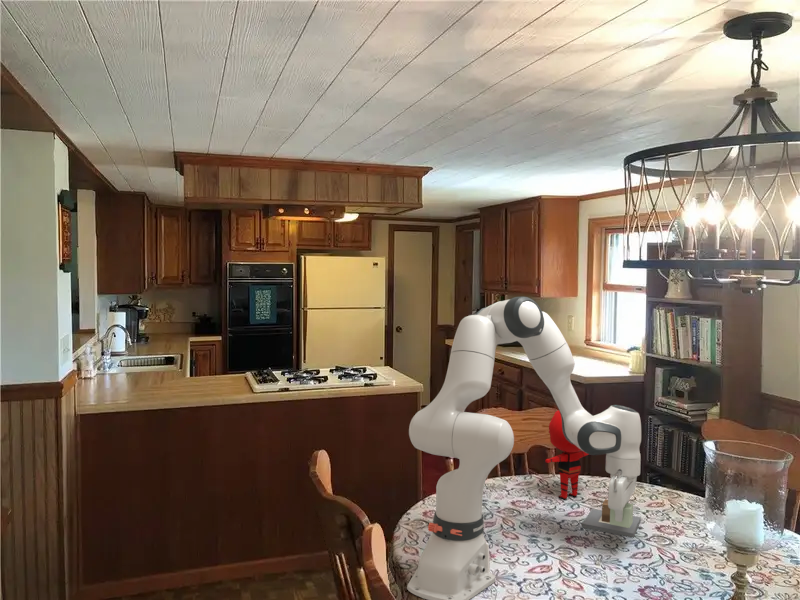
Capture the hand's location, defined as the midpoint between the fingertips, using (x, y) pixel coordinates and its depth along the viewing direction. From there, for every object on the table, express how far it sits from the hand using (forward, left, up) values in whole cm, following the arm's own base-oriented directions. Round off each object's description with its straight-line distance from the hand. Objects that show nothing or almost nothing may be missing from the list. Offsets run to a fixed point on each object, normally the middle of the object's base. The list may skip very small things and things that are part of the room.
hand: (621, 517), depth 169 cm
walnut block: (+13, +4, -6) cm, 15 cm away
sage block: (0, 0, -2) cm, 2 cm away
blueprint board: (+13, +4, -7) cm, 16 cm away
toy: (+29, +20, -8) cm, 36 cm away
